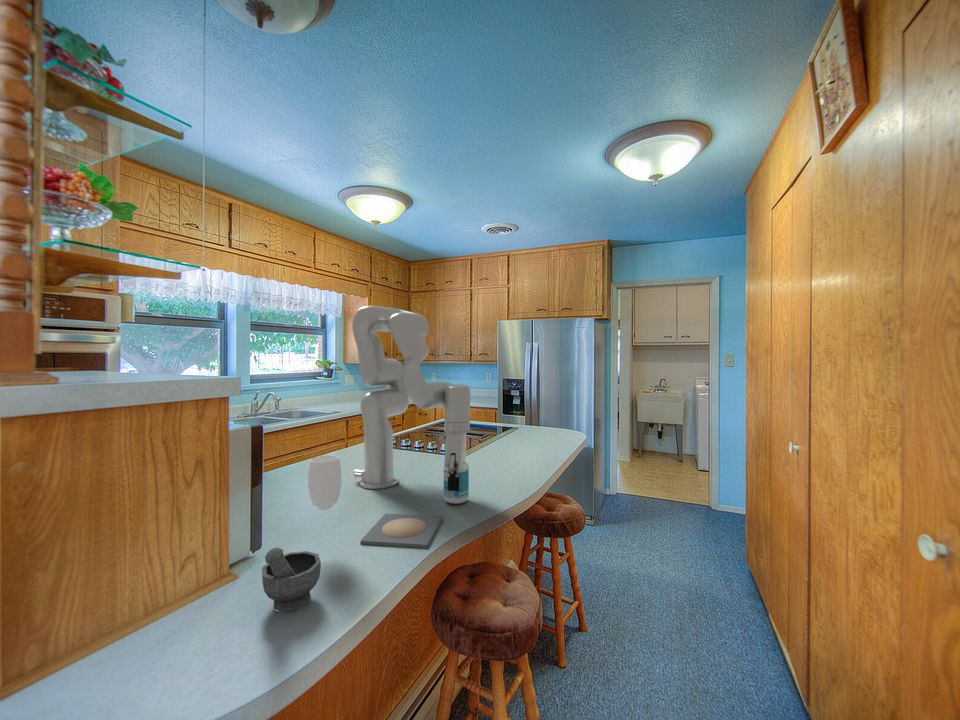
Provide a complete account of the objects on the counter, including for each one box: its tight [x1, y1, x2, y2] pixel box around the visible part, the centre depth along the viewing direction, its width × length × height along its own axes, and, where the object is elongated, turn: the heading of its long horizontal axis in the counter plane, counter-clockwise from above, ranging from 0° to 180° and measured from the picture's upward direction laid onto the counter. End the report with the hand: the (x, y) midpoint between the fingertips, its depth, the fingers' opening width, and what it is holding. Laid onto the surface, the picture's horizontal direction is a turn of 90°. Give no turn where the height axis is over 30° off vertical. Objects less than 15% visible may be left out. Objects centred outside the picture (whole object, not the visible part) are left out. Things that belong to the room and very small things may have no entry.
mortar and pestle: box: [261, 546, 322, 614], centre depth 73 cm, size 11×9×12 cm
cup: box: [307, 454, 342, 511], centre depth 93 cm, size 7×7×21 cm
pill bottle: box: [443, 460, 470, 505], centre depth 121 cm, size 8×7×14 cm
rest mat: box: [360, 512, 444, 549], centre depth 102 cm, size 16×16×1 cm
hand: (456, 485), depth 121 cm, fingers closed on pill bottle, 7 cm apart
